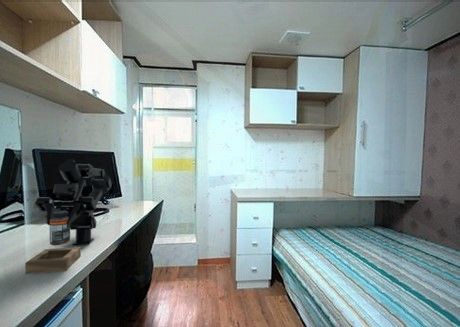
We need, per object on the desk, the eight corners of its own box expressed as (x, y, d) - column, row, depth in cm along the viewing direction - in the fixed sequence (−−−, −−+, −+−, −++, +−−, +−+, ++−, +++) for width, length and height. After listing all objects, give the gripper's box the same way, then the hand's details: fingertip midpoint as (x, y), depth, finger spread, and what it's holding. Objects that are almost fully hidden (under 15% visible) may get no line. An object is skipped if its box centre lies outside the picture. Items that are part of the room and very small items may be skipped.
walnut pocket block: (45, 258, 84) (45, 249, 84) (80, 256, 86) (80, 247, 86) (25, 273, 72) (25, 262, 72) (66, 270, 75) (66, 259, 75)
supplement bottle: (57, 240, 85) (57, 209, 85) (73, 240, 86) (74, 209, 85) (45, 246, 79) (45, 213, 79) (63, 246, 80) (63, 213, 79)
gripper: (38, 175, 84) (15, 212, 74) (93, 175, 88) (79, 211, 77) (50, 193, 92) (31, 229, 81) (101, 193, 95) (89, 227, 85)
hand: (58, 224), depth 81 cm, fingers closed on supplement bottle, 6 cm apart
